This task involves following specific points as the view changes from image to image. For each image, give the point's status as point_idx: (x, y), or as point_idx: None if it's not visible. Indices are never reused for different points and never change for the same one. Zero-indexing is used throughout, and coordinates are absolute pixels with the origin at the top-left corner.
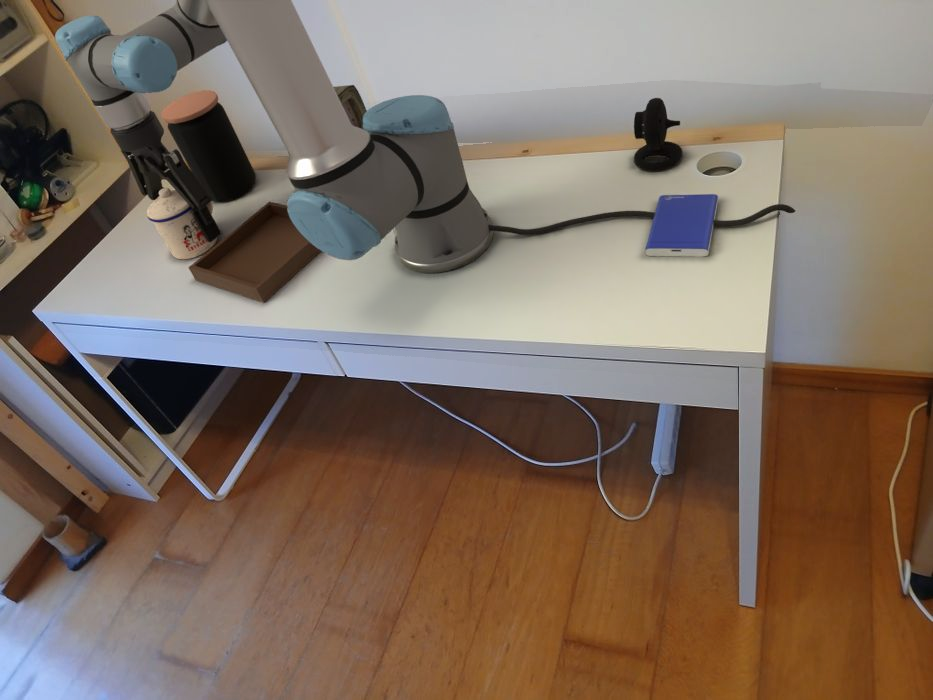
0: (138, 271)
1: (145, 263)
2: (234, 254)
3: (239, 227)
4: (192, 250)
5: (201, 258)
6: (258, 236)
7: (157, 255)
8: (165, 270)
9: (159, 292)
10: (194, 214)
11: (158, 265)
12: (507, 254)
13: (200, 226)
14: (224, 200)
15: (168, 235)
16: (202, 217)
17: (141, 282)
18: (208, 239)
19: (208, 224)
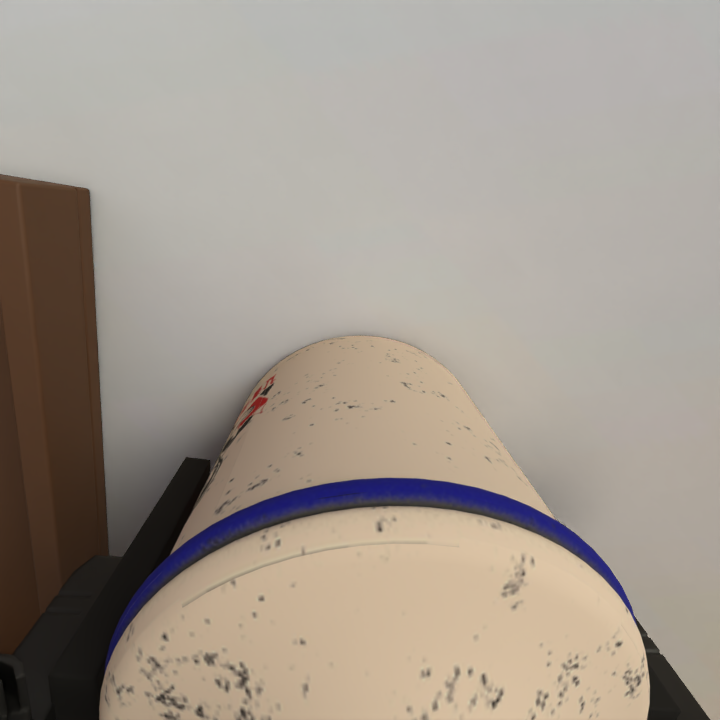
0: (580, 200)
1: (579, 273)
2: (11, 413)
3: (45, 575)
4: (261, 384)
5: (9, 294)
6: (15, 542)
7: (544, 344)
8: (391, 239)
9: (259, 29)
10: (73, 639)
11: (474, 271)
12: None
13: (148, 536)
14: None
15: (330, 405)
16: (69, 615)
17: (482, 104)
18: (182, 468)
19: (93, 561)
